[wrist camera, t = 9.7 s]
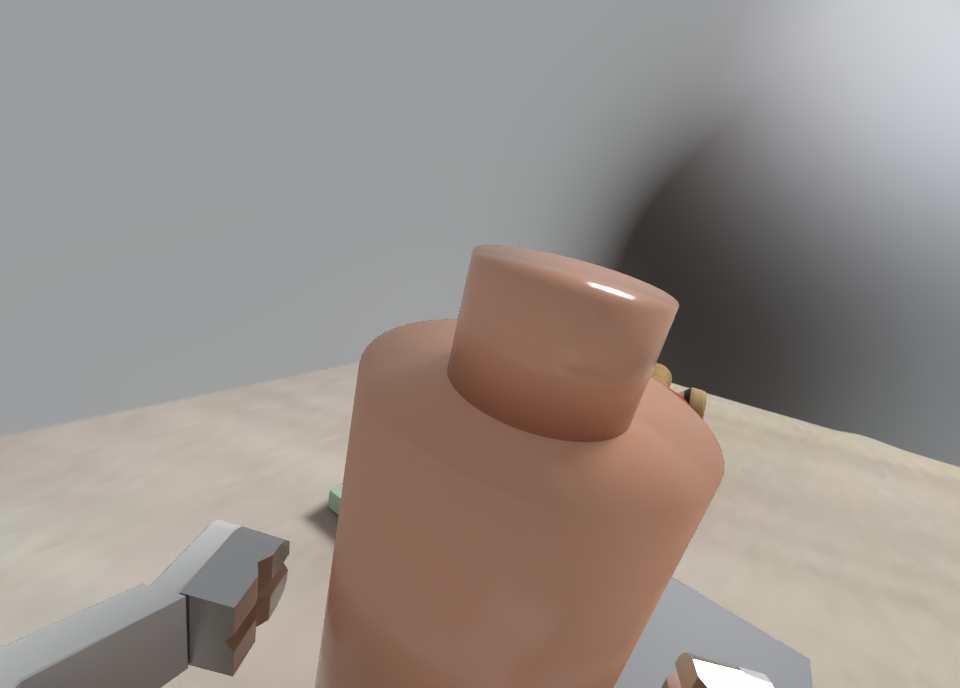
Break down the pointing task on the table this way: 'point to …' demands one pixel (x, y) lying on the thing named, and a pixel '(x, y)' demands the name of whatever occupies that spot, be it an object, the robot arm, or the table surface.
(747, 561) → the table surface
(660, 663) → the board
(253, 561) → the robot arm
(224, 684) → the table surface
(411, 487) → the bottle
